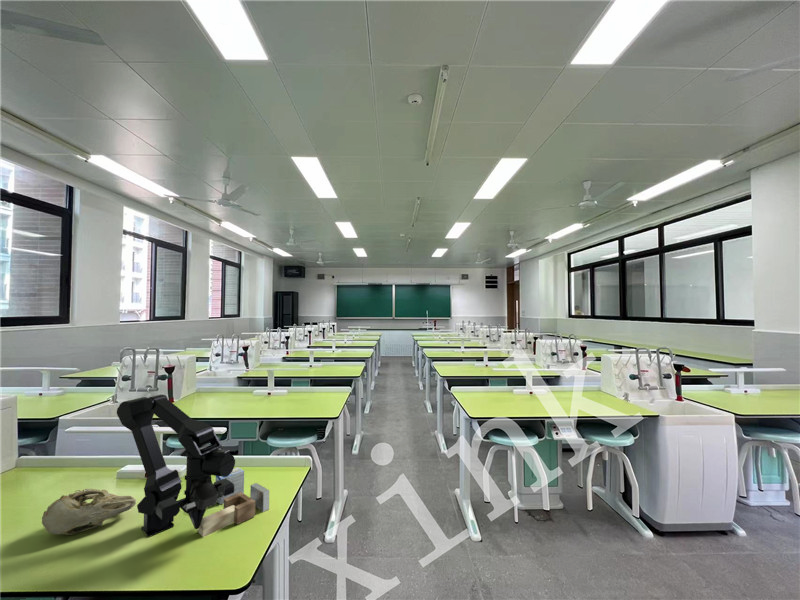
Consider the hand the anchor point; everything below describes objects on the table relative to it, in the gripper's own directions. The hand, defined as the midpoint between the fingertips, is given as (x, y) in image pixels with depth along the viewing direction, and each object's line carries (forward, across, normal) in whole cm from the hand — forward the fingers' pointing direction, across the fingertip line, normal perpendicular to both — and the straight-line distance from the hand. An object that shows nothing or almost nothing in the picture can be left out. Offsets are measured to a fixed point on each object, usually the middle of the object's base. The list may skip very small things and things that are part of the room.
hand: (196, 528), depth 97 cm
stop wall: (+2, +19, 0) cm, 19 cm away
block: (+2, +6, 0) cm, 6 cm away
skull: (+2, -18, +30) cm, 35 cm away
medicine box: (+2, +15, +13) cm, 20 cm away
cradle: (+2, +12, 0) cm, 12 cm away
